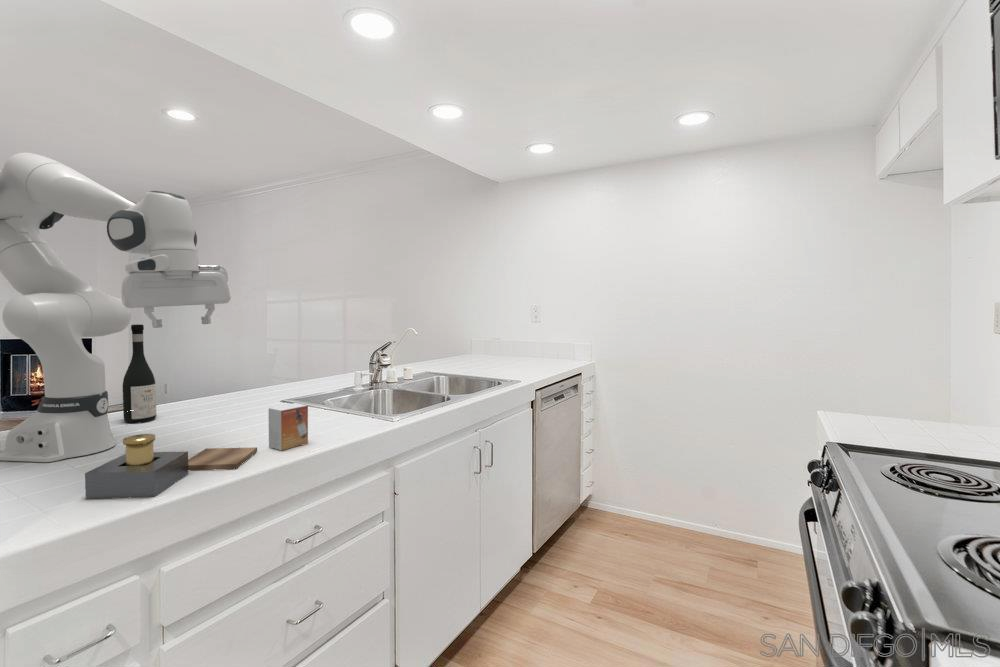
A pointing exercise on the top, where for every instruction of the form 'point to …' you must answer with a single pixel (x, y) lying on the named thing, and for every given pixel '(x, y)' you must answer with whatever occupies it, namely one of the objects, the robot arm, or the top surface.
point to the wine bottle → (139, 383)
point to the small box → (288, 426)
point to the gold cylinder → (139, 449)
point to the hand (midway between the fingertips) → (182, 325)
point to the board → (220, 458)
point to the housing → (136, 476)
